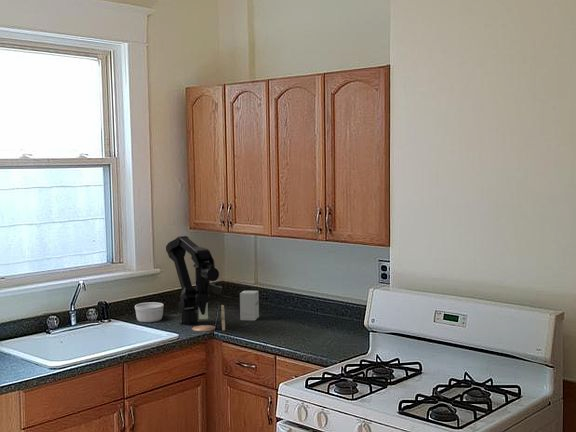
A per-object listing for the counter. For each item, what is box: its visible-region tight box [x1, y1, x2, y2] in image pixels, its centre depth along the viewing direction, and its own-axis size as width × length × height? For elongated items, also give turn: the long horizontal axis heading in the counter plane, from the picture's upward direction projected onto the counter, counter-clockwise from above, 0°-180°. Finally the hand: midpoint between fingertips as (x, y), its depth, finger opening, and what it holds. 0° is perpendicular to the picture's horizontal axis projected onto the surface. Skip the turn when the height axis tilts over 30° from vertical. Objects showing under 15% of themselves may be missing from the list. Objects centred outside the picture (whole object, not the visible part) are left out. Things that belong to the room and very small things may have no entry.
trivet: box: [191, 324, 216, 332], centre depth 327 cm, size 10×10×1 cm
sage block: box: [197, 301, 209, 320], centre depth 327 cm, size 4×4×7 cm
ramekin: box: [134, 301, 165, 323], centre depth 348 cm, size 13×13×7 cm
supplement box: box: [239, 290, 260, 321], centre depth 345 cm, size 7×7×13 cm
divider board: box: [220, 304, 226, 331], centre depth 328 cm, size 10×1×9 cm, turn 6°
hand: (203, 313), depth 327 cm, fingers closed on sage block, 4 cm apart
